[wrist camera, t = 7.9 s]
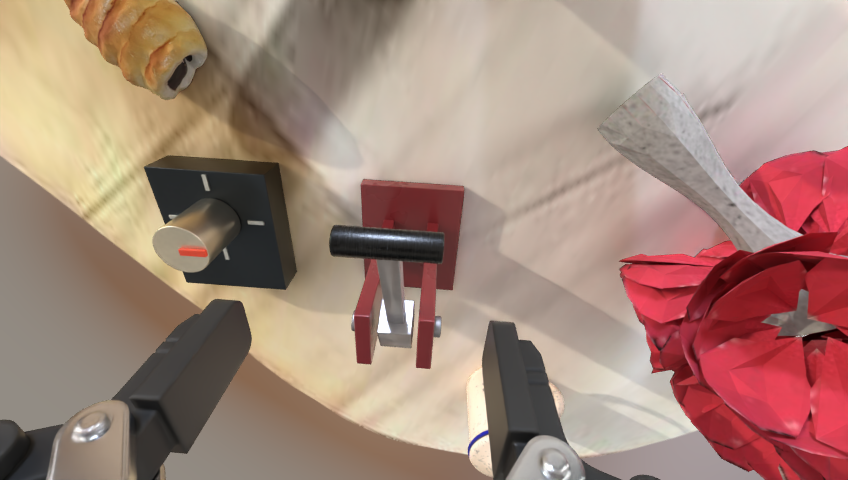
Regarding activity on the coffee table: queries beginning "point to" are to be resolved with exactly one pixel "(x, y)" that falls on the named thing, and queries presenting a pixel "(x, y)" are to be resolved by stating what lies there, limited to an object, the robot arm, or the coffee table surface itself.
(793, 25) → the coffee table surface
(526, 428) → the robot arm
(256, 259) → the dial panel
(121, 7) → the pastry
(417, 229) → the bracket
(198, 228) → the dial
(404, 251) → the lever
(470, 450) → the teacup with lid
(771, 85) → the coffee table surface
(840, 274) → the bouquet
